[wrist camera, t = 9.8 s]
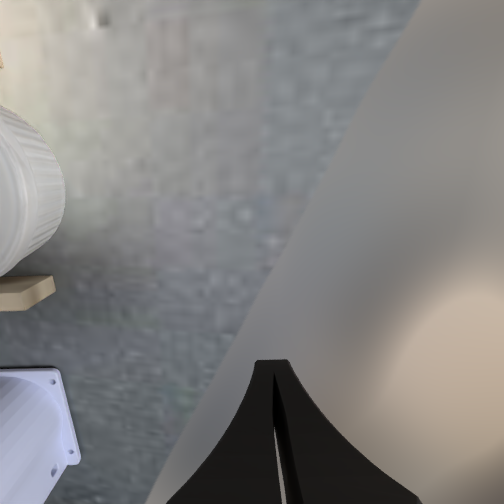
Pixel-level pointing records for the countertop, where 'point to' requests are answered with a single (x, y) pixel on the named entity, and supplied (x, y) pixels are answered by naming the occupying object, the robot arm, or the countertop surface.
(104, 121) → the countertop surface
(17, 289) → the birch dock
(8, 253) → the ramekin
